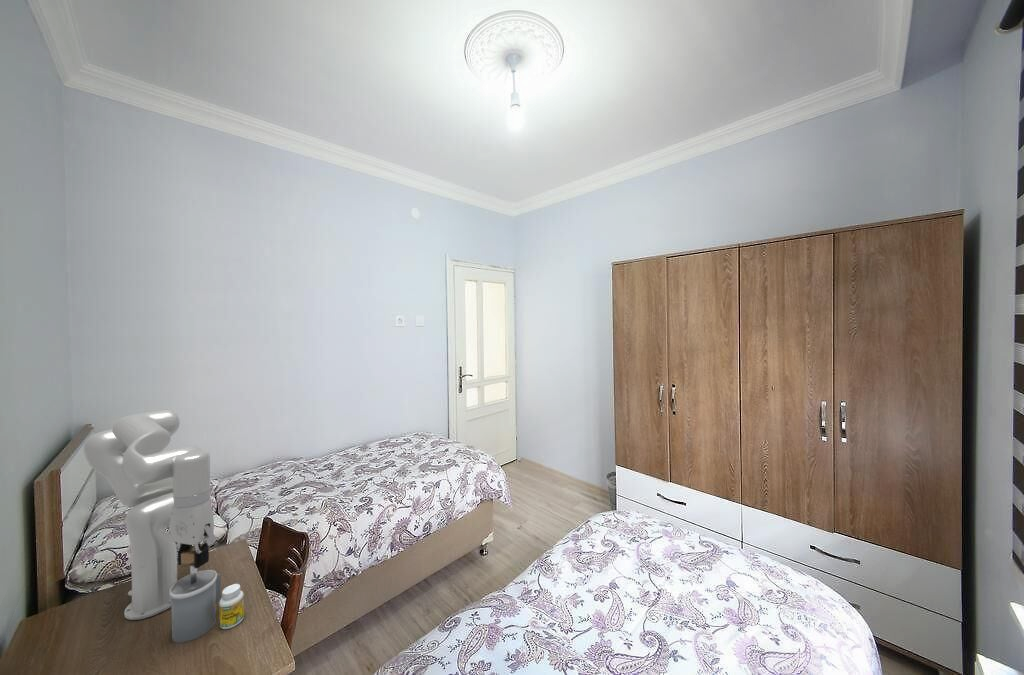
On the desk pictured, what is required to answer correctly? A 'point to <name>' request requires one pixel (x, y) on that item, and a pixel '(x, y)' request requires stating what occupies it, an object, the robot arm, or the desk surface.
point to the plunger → (190, 562)
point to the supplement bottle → (231, 606)
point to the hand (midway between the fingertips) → (193, 562)
